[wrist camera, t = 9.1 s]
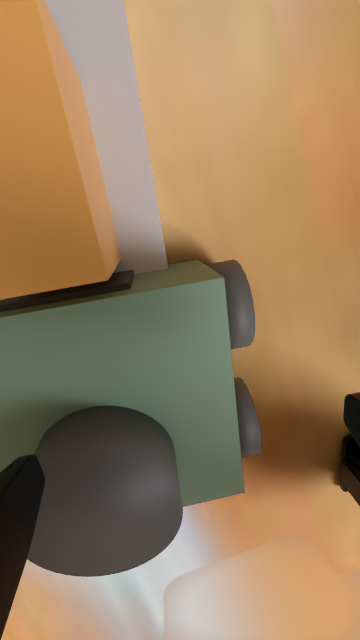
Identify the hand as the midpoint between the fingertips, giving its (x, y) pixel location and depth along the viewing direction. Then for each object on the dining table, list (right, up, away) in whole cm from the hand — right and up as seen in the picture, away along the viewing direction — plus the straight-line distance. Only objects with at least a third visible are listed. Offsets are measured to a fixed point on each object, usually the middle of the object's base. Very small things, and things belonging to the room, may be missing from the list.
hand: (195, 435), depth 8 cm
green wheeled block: (-6, +5, +9) cm, 12 cm away
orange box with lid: (-7, +10, +6) cm, 13 cm away
